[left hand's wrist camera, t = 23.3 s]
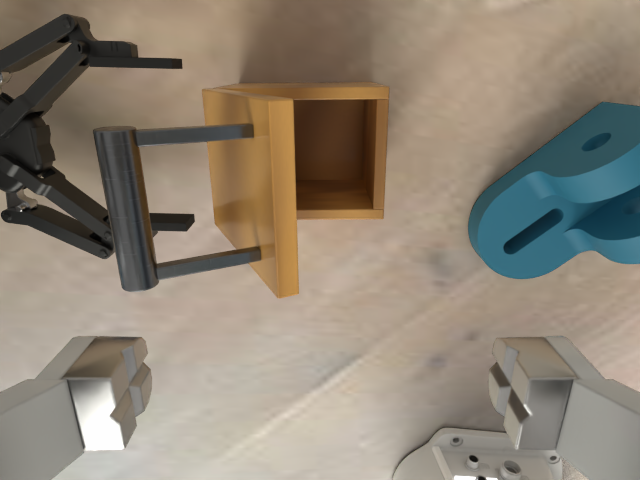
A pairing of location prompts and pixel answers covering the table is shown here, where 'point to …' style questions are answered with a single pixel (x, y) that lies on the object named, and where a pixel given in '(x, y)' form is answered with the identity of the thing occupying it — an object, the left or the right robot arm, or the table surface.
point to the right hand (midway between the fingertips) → (184, 148)
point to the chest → (336, 146)
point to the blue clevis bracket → (566, 199)
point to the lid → (213, 190)
